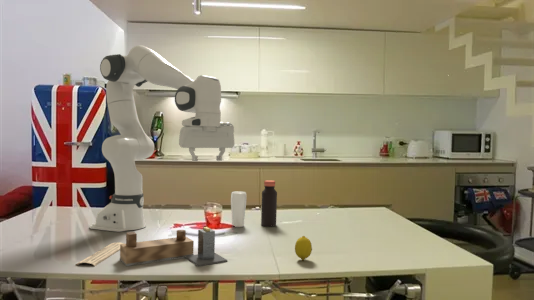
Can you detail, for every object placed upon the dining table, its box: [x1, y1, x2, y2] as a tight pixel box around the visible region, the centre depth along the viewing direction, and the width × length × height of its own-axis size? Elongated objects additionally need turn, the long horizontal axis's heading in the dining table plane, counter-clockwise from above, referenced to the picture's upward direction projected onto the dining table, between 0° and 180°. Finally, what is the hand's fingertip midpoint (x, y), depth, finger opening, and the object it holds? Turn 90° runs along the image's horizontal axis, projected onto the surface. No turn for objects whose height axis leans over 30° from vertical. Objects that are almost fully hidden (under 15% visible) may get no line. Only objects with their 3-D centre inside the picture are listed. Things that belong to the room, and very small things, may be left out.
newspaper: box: [75, 241, 126, 267], centre depth 140 cm, size 24×7×2 cm, turn 175°
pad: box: [185, 252, 228, 267], centre depth 137 cm, size 10×10×1 cm
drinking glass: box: [230, 190, 247, 228], centre depth 186 cm, size 7×7×15 cm
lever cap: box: [197, 226, 216, 260], centre depth 137 cm, size 4×4×10 cm
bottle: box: [260, 179, 278, 228], centre depth 189 cm, size 7×7×20 cm
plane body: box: [119, 229, 195, 267], centre depth 137 cm, size 22×7×9 cm, turn 123°
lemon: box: [294, 235, 313, 261], centre depth 139 cm, size 6×6×8 cm
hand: (207, 160), depth 150 cm, fingers open, 8 cm apart
